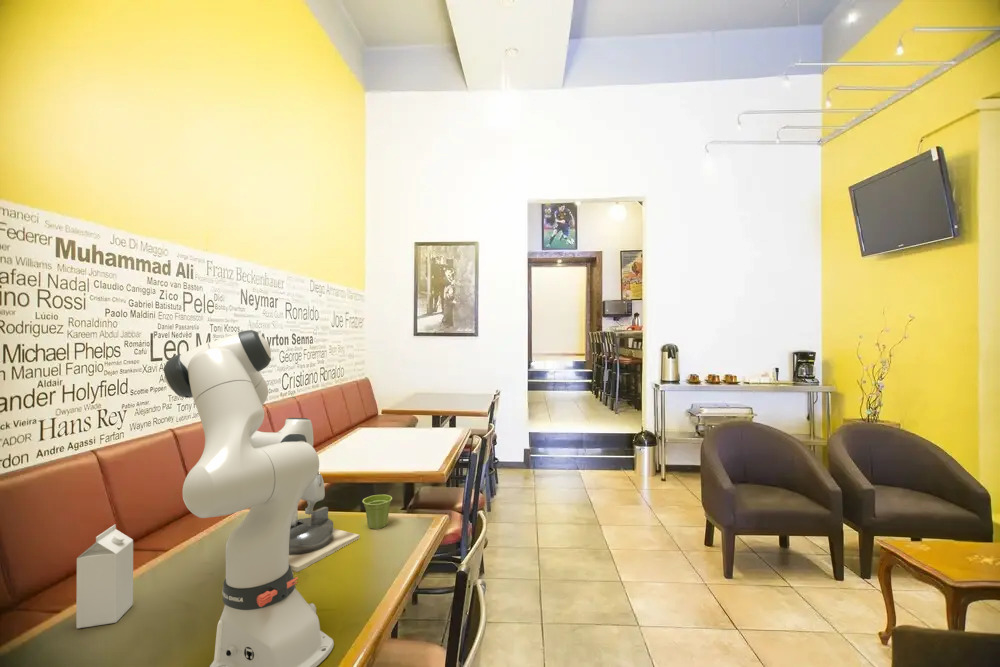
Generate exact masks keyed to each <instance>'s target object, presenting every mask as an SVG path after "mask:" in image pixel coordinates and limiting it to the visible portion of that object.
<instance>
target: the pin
mask: <svg viewBox="0 0 1000 667" xmlns="http://www.w3.org/2000/svg"><path fill="white" fill-rule="evenodd" d="M298 506H299V505H298ZM298 506H297V508H296V511H295V513H294V516H293V519H292V523H291V528H290V529H292V528H294V527H296V526H298V520H299V518H298V517H299V516H298V515H299V514H298V512H299V511H298V510H299V508H298Z"/></svg>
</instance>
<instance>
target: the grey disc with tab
mask: <svg viewBox="0 0 1000 667" xmlns="http://www.w3.org/2000/svg"><path fill="white" fill-rule="evenodd" d="M310 516H311V517H305V518H298V526H296V527H294V528H292V529H290V538H289V554H301V553H306V552H311V551H314V550H317V549H320V548H322V547H324V546H326V545H327V544H329V543H330V542H331V541H332V540H333V528H334V521H333V520H332V519H330V518H329V507H328V506H323V507H320V508H318V509H315V510H313V512H311V514H310Z"/></svg>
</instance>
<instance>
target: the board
mask: <svg viewBox="0 0 1000 667" xmlns="http://www.w3.org/2000/svg"><path fill="white" fill-rule="evenodd" d="M360 537H361V536H360V534H358V533H354V532H350V531H346V530H341V529H338V528H334V527H333V540H332V541H331V542H330V543H329V544H327V545H326V546H324V547H322V548H320V549H317V550H314V551H311V552H306V553H301V554H289V564H290V566H291V569H292V571H294V572H297V573H298V572H300V571H302V570H304V569H306V568H308V567H309V566H312V565H313V564H315V563H317V562H319V561H321V560H323V559H325V558H326V556H327V557H328V556H330V555H332V554H334V553H336V552H338V551H339V549H340V548H342V547H343V548H345V547H347V546H349V545H351V544H352V543H351V542H353V541H355V540H356V541H358V540H360V539H361V538H360ZM359 538H360V539H359ZM357 539H358V540H357ZM356 541H355V542H356ZM350 543H351V544H350ZM353 543H354V542H353ZM348 544H349V545H348ZM346 545H347V546H346ZM344 546H345V547H344ZM343 548H342V549H343ZM337 550H338V551H337ZM340 550H341V549H340ZM335 551H336V552H335Z"/></svg>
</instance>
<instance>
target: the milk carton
mask: <svg viewBox="0 0 1000 667" xmlns="http://www.w3.org/2000/svg"><path fill="white" fill-rule="evenodd" d="M116 526H117V524H115V523H114V524H113V525H112V526H110V527H109V528H107V529H106V530H104V531H103V532H102V533H100V534H98V535H97V536H95V542H94V543H93V544H91V546H89V548H87V549H86V550H85V551H84V552H82V553H81V554H80V555H78V557H77V558H76V616H75V617H76V621H75V622H76V624H75V625H76V626H75V627H76V629H81V628H82V629H83V628H90V627H96V626H103V625H109V624H115V623H117V622H118V621H119V620H121V618H122V617H123V615H125V614H126V613H127V612H128V611H129V610H130V608H131V607H132V606H134V539H133V538H131V537H130V536H128V535H126V534H124V533H123V532H121V531H120V530H118V529H117V527H116Z"/></svg>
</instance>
